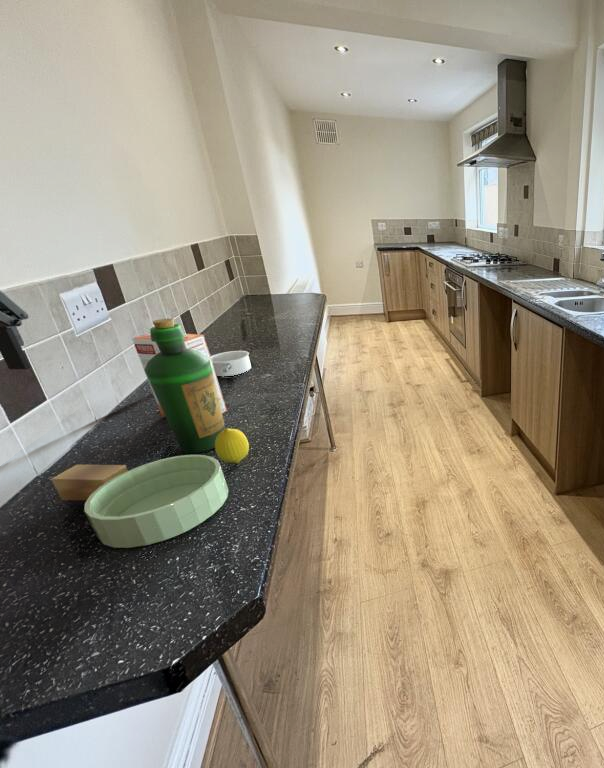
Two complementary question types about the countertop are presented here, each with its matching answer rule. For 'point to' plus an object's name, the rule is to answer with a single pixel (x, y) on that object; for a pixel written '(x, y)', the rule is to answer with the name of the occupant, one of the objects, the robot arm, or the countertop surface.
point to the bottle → (184, 389)
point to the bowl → (156, 501)
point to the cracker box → (191, 341)
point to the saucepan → (231, 363)
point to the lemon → (231, 445)
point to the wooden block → (84, 481)
